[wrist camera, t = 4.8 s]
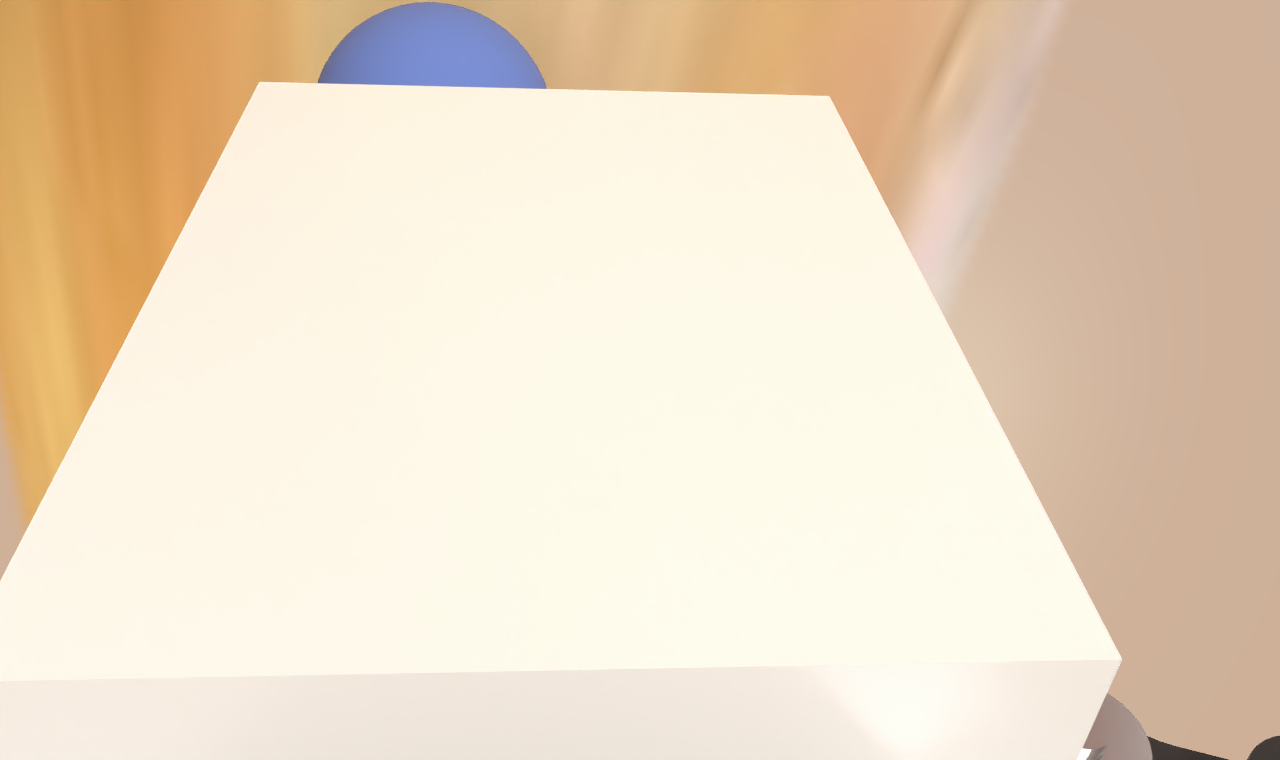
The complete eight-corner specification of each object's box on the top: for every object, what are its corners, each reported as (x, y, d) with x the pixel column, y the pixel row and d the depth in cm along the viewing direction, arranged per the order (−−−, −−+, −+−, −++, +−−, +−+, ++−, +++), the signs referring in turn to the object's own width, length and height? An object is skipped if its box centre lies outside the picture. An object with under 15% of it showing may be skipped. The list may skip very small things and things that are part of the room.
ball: (321, -31, 25) (276, 42, 21) (554, -22, 25) (556, 52, 21) (341, 184, 28) (306, 287, 23) (551, 188, 28) (552, 291, 24)
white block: (259, 82, 13) (-53, 682, 6) (828, 96, 14) (1121, 659, 7) (321, 512, 17) (172, 1176, 10) (763, 509, 18) (908, 1135, 11)
